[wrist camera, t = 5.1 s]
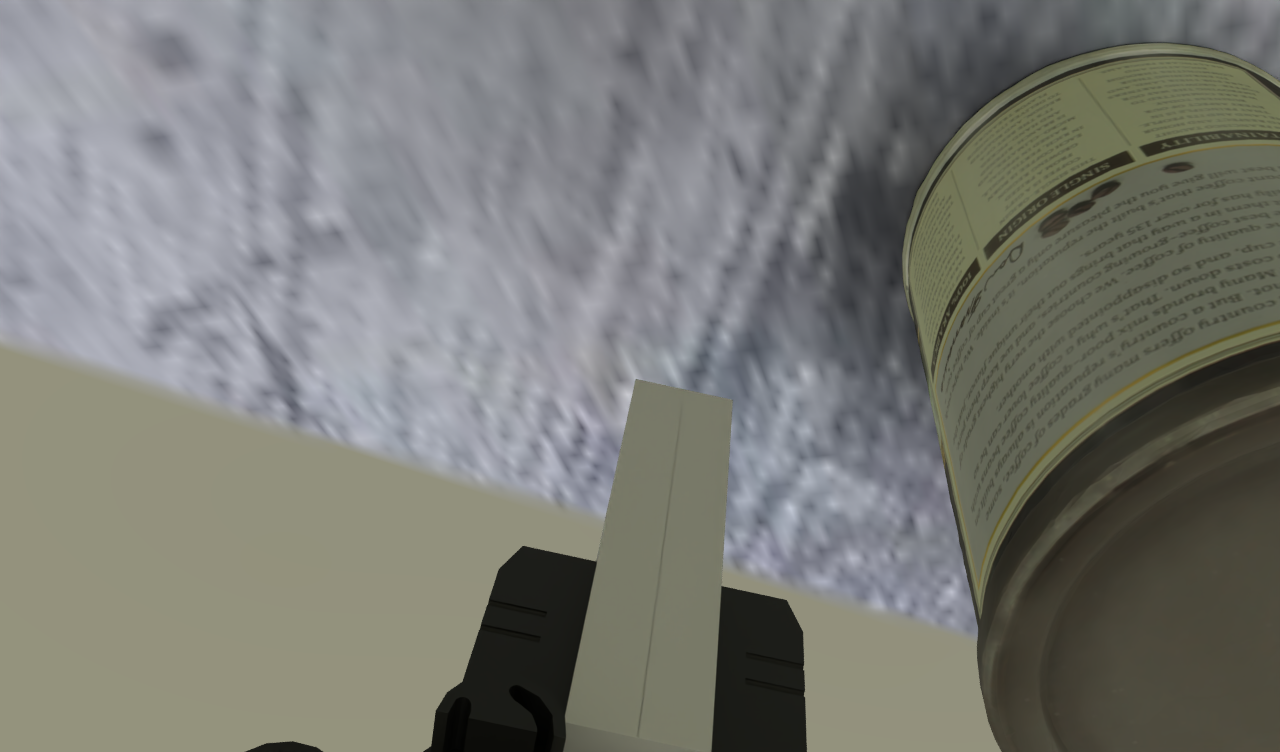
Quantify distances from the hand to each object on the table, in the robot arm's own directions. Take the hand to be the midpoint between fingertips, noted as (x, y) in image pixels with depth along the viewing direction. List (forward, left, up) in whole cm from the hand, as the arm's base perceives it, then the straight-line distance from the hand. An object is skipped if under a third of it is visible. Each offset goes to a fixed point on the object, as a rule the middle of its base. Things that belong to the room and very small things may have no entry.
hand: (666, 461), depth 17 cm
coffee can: (+10, 0, -12) cm, 16 cm away
